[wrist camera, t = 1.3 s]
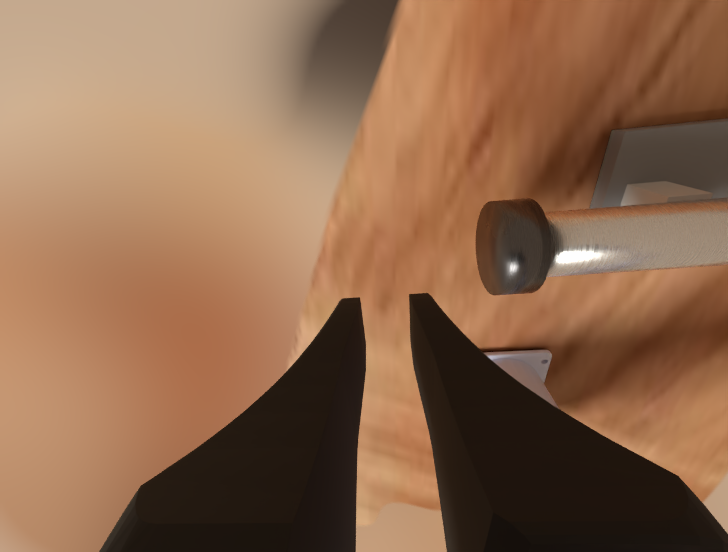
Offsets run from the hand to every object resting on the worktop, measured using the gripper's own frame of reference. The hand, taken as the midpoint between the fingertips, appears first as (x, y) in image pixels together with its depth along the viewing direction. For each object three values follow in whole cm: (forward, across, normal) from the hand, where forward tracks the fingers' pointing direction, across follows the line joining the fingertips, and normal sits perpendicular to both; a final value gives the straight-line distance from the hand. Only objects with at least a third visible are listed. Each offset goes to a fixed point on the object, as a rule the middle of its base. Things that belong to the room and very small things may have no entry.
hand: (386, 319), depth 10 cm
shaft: (+7, -13, 0) cm, 15 cm away
